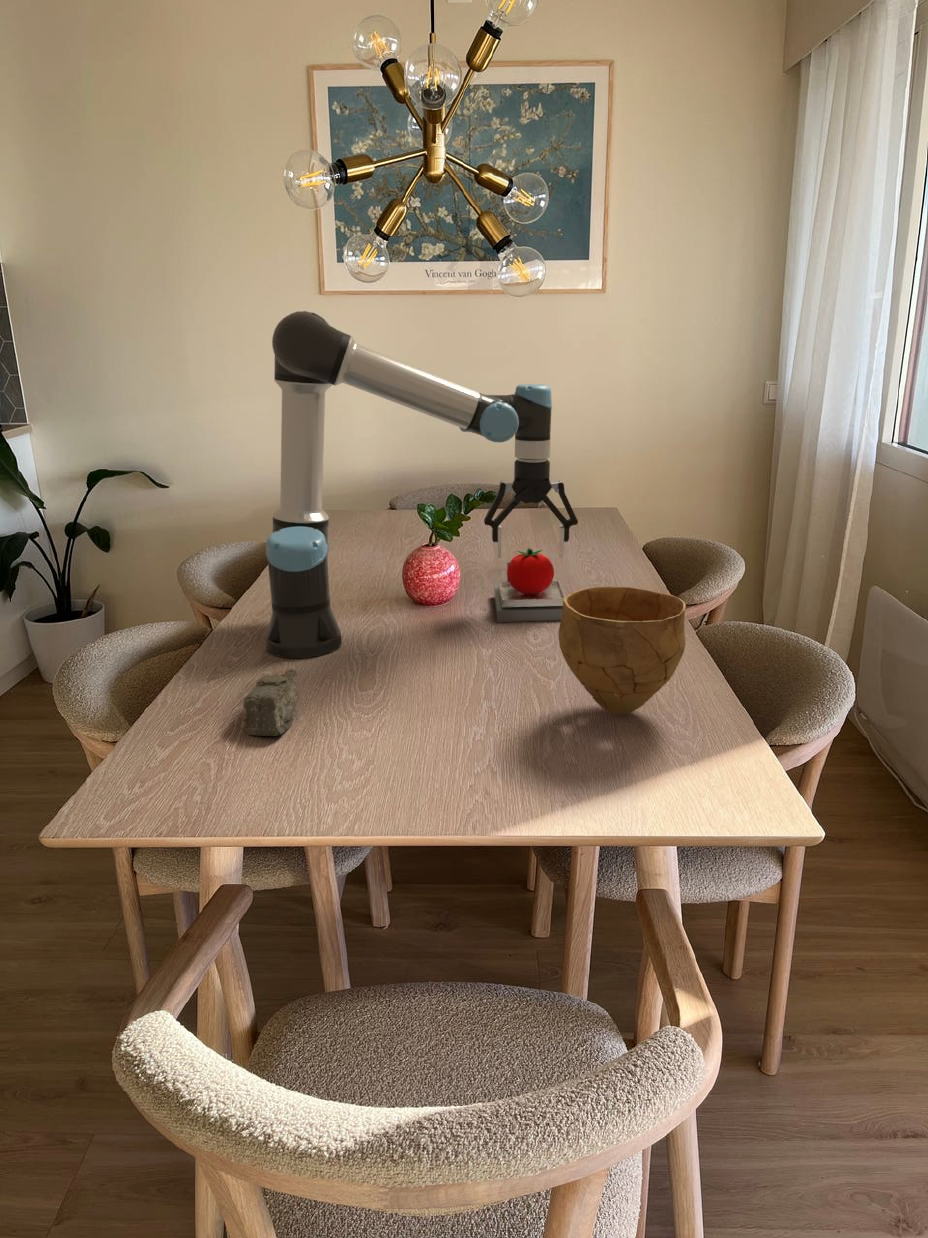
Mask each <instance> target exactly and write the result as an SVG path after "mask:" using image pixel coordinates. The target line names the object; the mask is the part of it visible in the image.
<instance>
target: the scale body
mask: <svg viewBox="0 0 928 1238" xmlns="http://www.w3.org/2000/svg"><path fill="white" fill-rule="evenodd" d="M548 559H549V560H550V562H551V563H552V561H551V558H548ZM511 560H512V559H506V570H507V569H508V565H509V563H510V562H511ZM506 582H509V581H508V578H507V577H506ZM562 587H563V589H564V592H565V595H567V592H566V591H565V588H564V585H563V584H562ZM493 589H494V590H493V594H494V595H493V598H494V605H495V612H496V618H497V622H498V623H499V622H500V623H501V622H503V623H505V622H538V621H539V622H542V621H544V622H545V621H561V618H562V609H563V606H534V607H502V603H501V597H500V591H499V586H494V587H493Z"/></svg>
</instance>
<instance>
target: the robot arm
mask: <svg viewBox="0 0 928 1238" xmlns="http://www.w3.org/2000/svg"><path fill="white" fill-rule="evenodd" d="M271 339H272V340H271V341H272V342H271V345H272V346H271V347H272V351H273V354H274V382H275V383H276V384H277V385H278V386H279V388H280V389H281V432H280V433H281V434H280V436H281V437H280V500H279V501H280V502H279V503H280V504H279V507H278V508H277V509H276V511H274V512H273V513H272V533H271V534H270V535H269V536H268V537H267V540H266V547H265V556H266V558H267V566H268V578H269V588H270V601H271V616H270V618H269V619H270V620H269V625H268V627H267V632H266V638H265V641H266V650H267V651H268V652H269V653H270V654H271V655H274V656H276V657H277V656H278V657H280V658H281V657H282V658H288V659H289V658H292V659H301V658H303V659H304V658H312V657H319V656H323V655H326V654H329V653H332V652H334V651H335V650H337V649H338V648H340V647H341V645H342V644H343V643H342V632H341V629H340V627H339V624H338V622H337V619H336V617H335V614H334V611H333V610H332V606H331V595H330V594H331V593H330V580H329V566H328V565H329V562H328V561H329V560H328V559H329V557H328V555H329V548H330V546H329V545H330V543H329V528H330V527H329V524H330V523H329V522H330V520H329V519H330V517H329V515H328V514H327V512H325V510H324V509H323V479H324V477H323V476H324V447H325V445H324V444H325V440H324V439H325V408H326V407H325V406H326V405H325V403H326V392H327V390H329V388H331V387H332V386H335V387H336V386H338V385H341V384H346V385H348V386H350V387H353V388H356V389H359V390H361V391H364V392H367V393H369V394H372V395H375V396H377V397H380V398H382V399H385V400H388V401H391V402H393V403H396V404H398V405H400V406H404V407H406V408H408V409H411V410H413V411H416V412H419V413H422V414H424V415H427V416H430V417H433V418H435V419H438V420H440V421H443V422H445V423H447V424H451V425H453V426H456V427H458V428H459V430H460V431H461V432H463V433H471V434H475V435H478V436H481V437H483V438H485V439H486V440H488V441H490V442H493V443H504V442H508V441H510V440H511V439H512V438H513V437H514V458H516V459H515V461H514V465H513V466H514V468H513V470H514V473H513V474H514V475H513V476H514V477H513V481H512V482H505V480H501V481H500V482H499V486H498V491H497V494H496V495H495V498H494V499H493V501H492V503H491V505H490V507H489V509H488V511H487V513H486V515H485V517H484V518H483V521H484V525H485V526H489V527H491V528H492V529H491V531H492V532H491V539H492V542H493V543H497V546H496V555H497V558H498V559H500V558H502V526H501V524H502V523H503V521H504V520H506V518H507V517H508V516H509V515H510V514H511V513H512V511H513V510H514V509H515V508H516V506H518V505H519V504H520V502H521V503H524V504H530V503H532V504H539V503H541V502H543V503H544V505H546V507H548V509H549V510H550V511H551V512H552V513H553V514H554V516H555V517H556V518H557V519H558V520H559V523H561V525H559V532H558V534H559V535H558V557H559V558H560V559H561V558H562V559H563V558H564V553H565V551H564V549H565V545H564V544H565V543H567V542H569V540H570V528H571V527H572V526H576V525H579V520H578V518H577V516H576V514H575V512H574V510H573V508H572V505H571V504H570V502H569V499H568V497H567V495H566V492H565V484H564V482H563V481H562V480H558V481H557V482H556V481H555V482H551V479H550V472H551V470H550V468H551V467H550V466H551V462H550V460H549V458H550V457H551V428H552V427H551V426H552V410H553V406H552V405H553V404H552V388H550V386H548V385H546V384H543V383H542V384H541V383H526V384H525V383H524V384H522V383H521V384H518V385H517V386H516V387H515V391H514V393H513V394H485V393H481V392H479V391H476V390H473V389H472V388H468V387H466V386H463V385H462V384H458V383H456V382H453V381H451V380H448V379H446V378H443V377H442V376H438V375H436V374H433V373H431V372H429V371H426V370H423V369H421V368H419V367H415V366H413V365H411V364H408V363H406V362H403V361H401V360H399V359H396V358H393V357H391V356H388V355H385V354H383V353H380V352H378V351H375V350H373V349H370V348H369V347H365V346H363V345H360V344H357V343H356V340H355V339H354V337H353V336H352V335H350V334H348V333H344V332H343V331H341V330H338V329H336V328H335V327H333V326H331V325H330V324H329V322H327V320H326V319H325V318H323V317H322V316H321V315H319V314H317V313H315V312H310V311H306V310H304V311H303V310H302V311H300V310H298V311H295V312H292V313H290V314H288V315H286V316H285V317H283V318H282V319H281V320H280V321H279V322H278V323H277V325H276V327H275V328H274V330H273V334H272V338H271ZM511 489H512V491H513V492H514V495H513V496H512V498H511V500H510V501H509V502H508V503H507V505H505V507H504V508H503V509H502V510H501V511H500V513H498V515H497V516H496V517H495V518H494V516H495V514H496V512H497V510H498V508H499V507H500V504H501V503H502V501H503V499H504V497H505V493H509V491H510V490H511ZM552 489H553V490H554V492H555V493H557V494H558V495H559V497H560V500H561V502H562V504H563V506H564V508H565V511H566V512H567V514H568V517H569V519H567V518H566V517H565V516H564V514H563V513H562V512H561V511H560V510H559V508H558V507H557V506H556V505H555V504H554V502H553V501H552V500H551V499H550V498H549V496H548V494H549V492H550V491H551V490H552ZM493 518H494V519H493Z"/></svg>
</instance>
